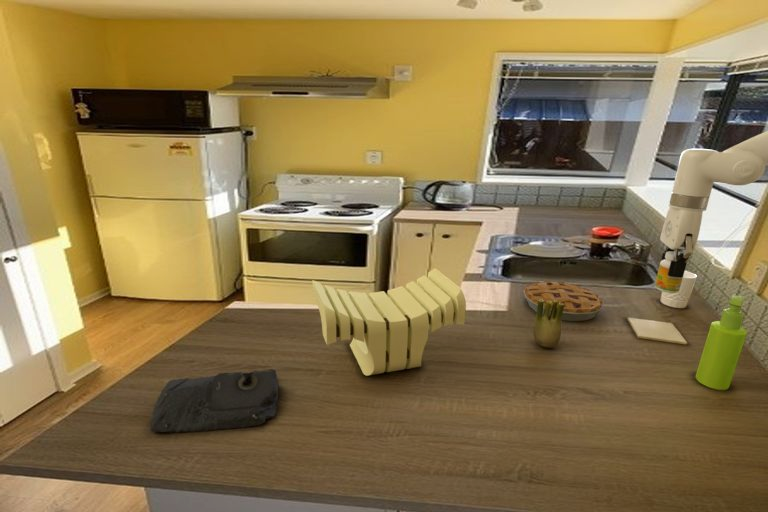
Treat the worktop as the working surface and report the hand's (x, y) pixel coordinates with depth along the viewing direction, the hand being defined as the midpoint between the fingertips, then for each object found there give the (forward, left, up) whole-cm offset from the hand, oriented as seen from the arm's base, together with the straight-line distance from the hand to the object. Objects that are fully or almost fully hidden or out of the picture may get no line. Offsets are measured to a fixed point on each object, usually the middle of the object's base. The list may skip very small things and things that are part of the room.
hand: (670, 271), depth 108 cm
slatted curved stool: (+65, +35, -17) cm, 76 cm away
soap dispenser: (-4, +23, -17) cm, 29 cm away
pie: (+23, -8, -17) cm, 30 cm away
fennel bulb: (+29, +17, -17) cm, 38 cm away
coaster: (0, 0, -17) cm, 17 cm away
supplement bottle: (0, 0, -5) cm, 5 cm away
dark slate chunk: (+91, +60, -17) cm, 110 cm away
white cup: (-11, -22, -17) cm, 30 cm away
